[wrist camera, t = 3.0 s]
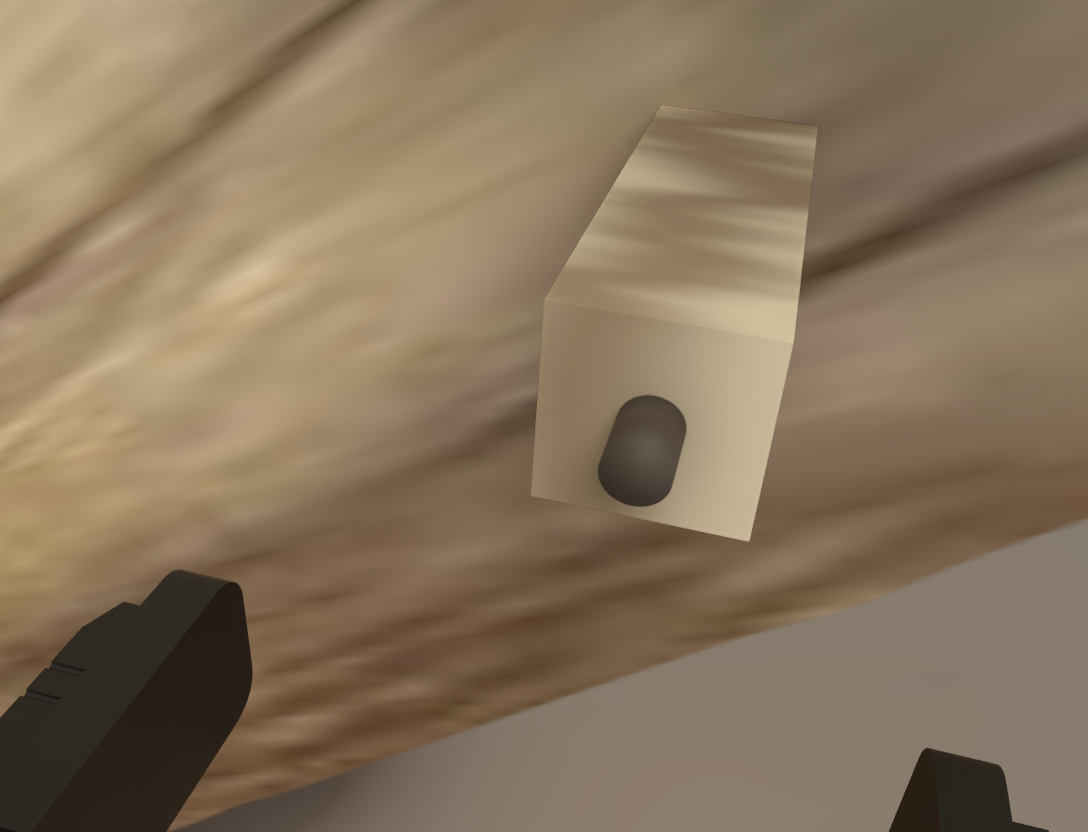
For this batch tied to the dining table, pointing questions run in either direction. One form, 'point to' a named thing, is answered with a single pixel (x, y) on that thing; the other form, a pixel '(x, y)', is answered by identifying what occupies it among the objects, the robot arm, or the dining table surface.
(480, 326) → the dining table surface
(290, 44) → the dining table surface
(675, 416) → the beige long rectangular block
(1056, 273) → the dining table surface
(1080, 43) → the dining table surface
